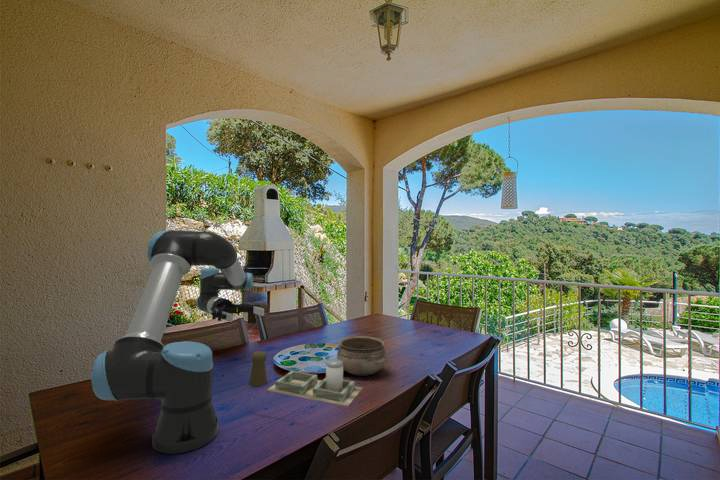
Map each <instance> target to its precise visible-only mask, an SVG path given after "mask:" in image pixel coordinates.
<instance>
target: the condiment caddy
mask: <svg viewBox="0 0 720 480" xmlns="http://www.w3.org/2000/svg"><path fill="white" fill-rule="evenodd" d="M362 389H363V387H360V386H356V381H355V380H349V379H344V378H343V390H342V391H341V392H338V391H333V390H327V389H326V377H324V379H322V380H320V379H318V374H314V373H309V372H308V373H307V372H302V371H295V370H290V371H289V372H287V373H286V374H285V375H283V376H282V377H281V378H279V379H277V380H275V382H274V384H273V385H272V386H270V387H268V388H267V389H266V390H265V394H266V395H267V394H268V393H269V392H273V393H278V394H283V395H287V396H291V397H292V396H293V397H298V398H303V399H307V400H313V401H318V402H323V403H326V404H327V403H328V404H333V405H337V406H343V407H347V408H348V407H349V405H350V404H351V403H352V402H353V401H354V400H355V398H356V397H357V396H358V395H359V393H360V392H361V391H362Z"/></svg>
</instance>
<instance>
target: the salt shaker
mask: <svg viewBox="0 0 720 480" xmlns="http://www.w3.org/2000/svg"><path fill="white" fill-rule="evenodd" d="M325 368H326V370H325V378H326V389H327V390H333V391H338V392H341V391H342V390H343V379H344V369H343V361H342V360H340V359H337V358H331V359H328V360H327V361H326V365H325Z"/></svg>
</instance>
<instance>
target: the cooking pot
mask: <svg viewBox="0 0 720 480" xmlns="http://www.w3.org/2000/svg"><path fill="white" fill-rule="evenodd" d="M338 343H339V344H338V350H337V353H336V359H340V360H342V361H343V371H345V372H347V373H348V374H349V375H353V376H356V377H367V376H372V375H373V374H375V373H377V372H379V371H380V370H381V369H382V368H384V366H385V364H386V362H388V359H387V352H386V349H385V347H384V346H385V340H382V339H381V338H378V337H374V336H367V335H354V336H347V337H346V336H345V337H343V338H342V339H340V340H339V342H338Z"/></svg>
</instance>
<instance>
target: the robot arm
mask: <svg viewBox="0 0 720 480" xmlns="http://www.w3.org/2000/svg"><path fill="white" fill-rule="evenodd" d="M147 248H148V249H147V250H146V251H147V252H146V253H147V254H146V255H147V259H148V261H149V263H150V265H151V267H152V270H151V273H150V275H149V278H148V281H147V282H146V285H145V287H144V290H143V293H142V294H141V297H140V299H139V302H138V303H137V306H136V309H135V310H134V314H133V316H132V318H131V321H130V323H129V326H128V328H127V330H126V333H125V335H124V336H121V337H119V338H117V339H116V341H115V343H114V344H113V347H112V349H111V350H109V349H108V350H104V351H102V352H101V353H100V354H98V355H97V356H96V359H95V361H94V363H93V366H92V369H91V386H92V390H93V392H94V395H95V396H96V398H98V399H100V400H101V401H102V400H103V401H116V402H121V401H127V400H128V401H130V400H152V399H153V400H155V399H160V400H161V402H160V413H159V415H158V419H157V421H156V427H155V428H154V430H153V432H152V439H151V446H152V448H153V449H154V450H155V451H156V452H158V453H161V454H166V455H167V454H168V455H174V454H175V455H177V454H183V453H188V452H191V451H194V450H197V449H199V448H202V447H204V446H206V445H208V444H209V443H210V442H211V441H213V440H214V439H215V438H216V437H217V435H218V433H219V418H218V417H217V415H216V411H215V407H214V405H213V401H212V400H213V397H212V395H213V372H214V371H213V368H214V362H213V350H212V349H211V348H210V347H209V346H208V345H207V344H204V343H201V342H196V341H178V342H177V341H175V342H171V343H167V344H166V345H164V344H163V342H162V339H163V335H164V333H165V330H166V327H167V324H168V320H169V318H170V315H171V311H172V309H173V306H174V304H175V300H176V297H177V294H178V290H179V288H180V286H181V282H182V279H183V276H186V275H188V274H189V273H190V271H191V268H192V266H213V267H204V268H202V269H201V270H200V278H199V282H200V284H199V292H200V293H199V295H198V296H197V298H196V300H195V306H196V308H197V309H198V310H200V311H201V312H204V313H208V314H210V315H211V318H212V320H216V319H217V321H218V322H221V321H222V320H224V321H226V322H229V323H233V319H234V315H233V314H240V313H252V314H254V315H257V316H261V317H264V316H265V308H262V307H260V305H259V304H248V303H245V304H244V303H238V304H235V303H232V301H231V300H229V299H227V298H225V297H222V296H220V297H219V291H223V290H226V291H228V290H231V291H233V290H235V291H237V290H238V291H241V290H242V291H245V290H251V289H252V288H253V286H254V275H253V273H251V272H245V270H244V268H243V267H242V266H241V263H240V262H239V260H238V252H237V249H236V248H235V247H234V245H233V243H231V242H230V241H229V240H227V239H226V238H224V237H222V236H221V235H219V234H216V233H214V232H212V231H211V232H210V231H205V230H203V231H202V230H200V231H199V230H197V231H196V230H173V229H169V230H160V231H157V232H156V233H154V234H153V235H152V237H151V238H150V240H149V242H148V246H147Z"/></svg>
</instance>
